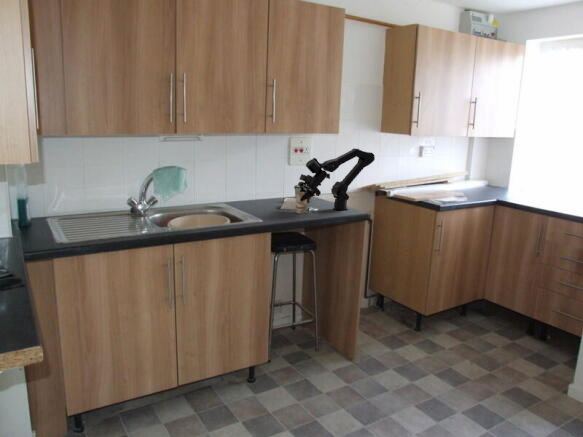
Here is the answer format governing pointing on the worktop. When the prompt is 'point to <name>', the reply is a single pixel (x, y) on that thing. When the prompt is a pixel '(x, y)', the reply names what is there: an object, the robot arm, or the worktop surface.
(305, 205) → the wooden post
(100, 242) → the worktop surface
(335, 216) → the worktop surface
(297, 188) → the food container
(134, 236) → the worktop surface
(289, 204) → the well
